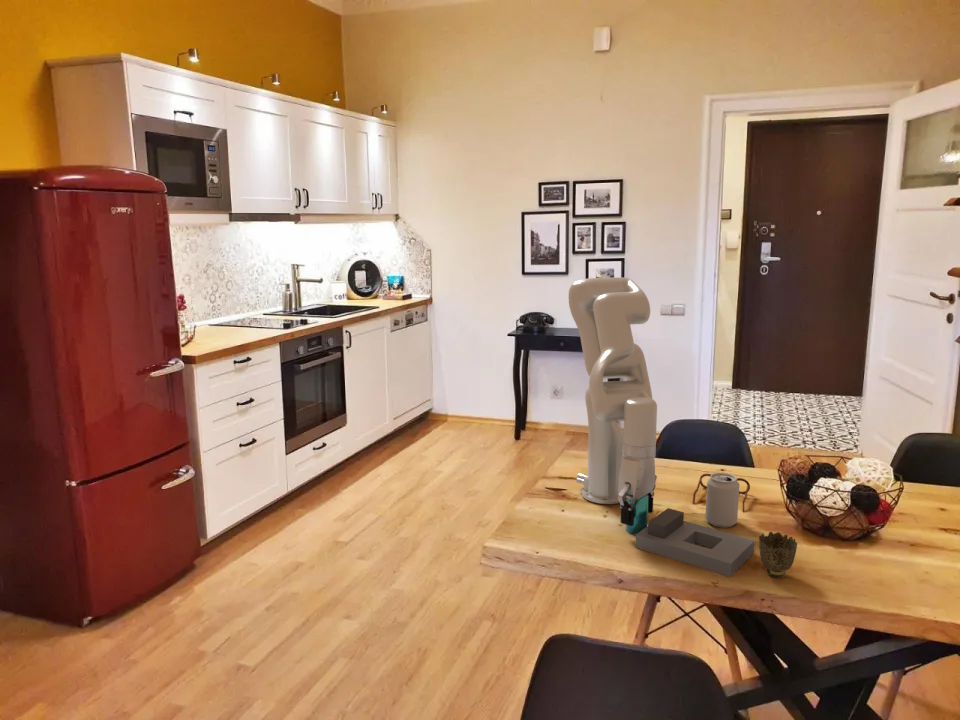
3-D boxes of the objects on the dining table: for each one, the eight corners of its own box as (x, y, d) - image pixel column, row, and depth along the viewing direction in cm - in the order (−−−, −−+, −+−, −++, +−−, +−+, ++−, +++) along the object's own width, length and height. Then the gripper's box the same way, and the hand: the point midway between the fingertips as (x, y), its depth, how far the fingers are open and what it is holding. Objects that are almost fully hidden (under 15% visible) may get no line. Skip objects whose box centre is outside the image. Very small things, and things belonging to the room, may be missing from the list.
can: (739, 530, 170) (742, 483, 168) (706, 527, 172) (709, 481, 169) (734, 517, 177) (737, 471, 175) (703, 515, 179) (706, 470, 176)
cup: (772, 585, 144) (774, 549, 143) (749, 569, 151) (751, 534, 150) (802, 580, 147) (805, 544, 145) (778, 564, 153) (781, 529, 152)
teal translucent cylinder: (622, 531, 171) (623, 495, 169) (632, 524, 174) (633, 489, 172) (640, 536, 167) (642, 500, 166) (650, 529, 171) (652, 494, 169)
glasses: (749, 495, 192) (750, 478, 191) (744, 514, 180) (745, 495, 179) (699, 488, 197) (700, 471, 196) (691, 505, 186) (692, 487, 185)
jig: (635, 546, 162) (636, 522, 161) (663, 526, 173) (664, 503, 171) (729, 577, 148) (731, 550, 147) (753, 552, 159) (755, 527, 157)
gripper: (642, 437, 176) (640, 502, 179) (606, 455, 163) (604, 525, 166) (670, 443, 171) (667, 510, 174) (635, 462, 158) (633, 534, 161)
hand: (636, 517), depth 170 cm, fingers open, 9 cm apart
